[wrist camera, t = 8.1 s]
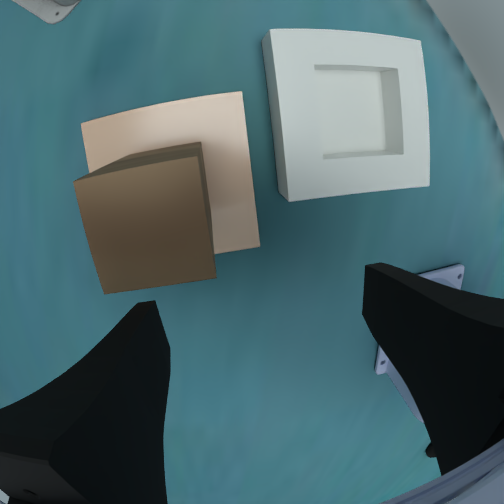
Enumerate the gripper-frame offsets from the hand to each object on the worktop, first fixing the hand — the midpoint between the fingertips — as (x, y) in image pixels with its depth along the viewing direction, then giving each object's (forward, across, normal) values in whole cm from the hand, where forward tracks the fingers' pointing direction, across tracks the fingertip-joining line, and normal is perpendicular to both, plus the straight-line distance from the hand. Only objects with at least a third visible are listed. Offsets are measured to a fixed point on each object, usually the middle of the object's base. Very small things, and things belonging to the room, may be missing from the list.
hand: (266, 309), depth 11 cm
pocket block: (+9, -7, -6) cm, 13 cm away
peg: (+9, +4, -3) cm, 10 cm away
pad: (+9, +4, -3) cm, 10 cm away
